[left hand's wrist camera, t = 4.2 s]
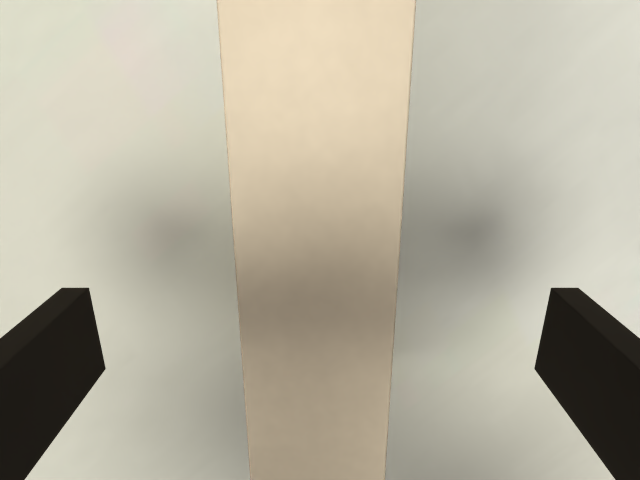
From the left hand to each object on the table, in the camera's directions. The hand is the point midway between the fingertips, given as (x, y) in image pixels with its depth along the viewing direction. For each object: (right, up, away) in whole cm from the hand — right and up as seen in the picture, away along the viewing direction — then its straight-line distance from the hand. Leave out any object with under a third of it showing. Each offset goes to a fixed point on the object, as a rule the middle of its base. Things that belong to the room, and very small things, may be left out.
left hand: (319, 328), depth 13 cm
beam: (0, +28, 0) cm, 28 cm away
